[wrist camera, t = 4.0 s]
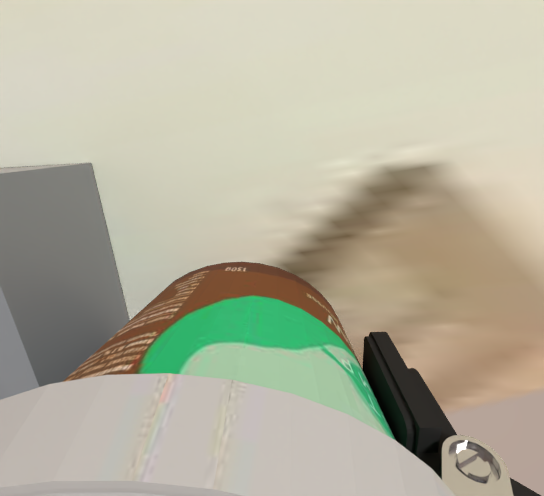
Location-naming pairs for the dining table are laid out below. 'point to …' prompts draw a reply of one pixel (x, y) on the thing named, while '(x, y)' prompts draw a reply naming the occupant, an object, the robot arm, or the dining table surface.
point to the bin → (53, 275)
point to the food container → (213, 404)
